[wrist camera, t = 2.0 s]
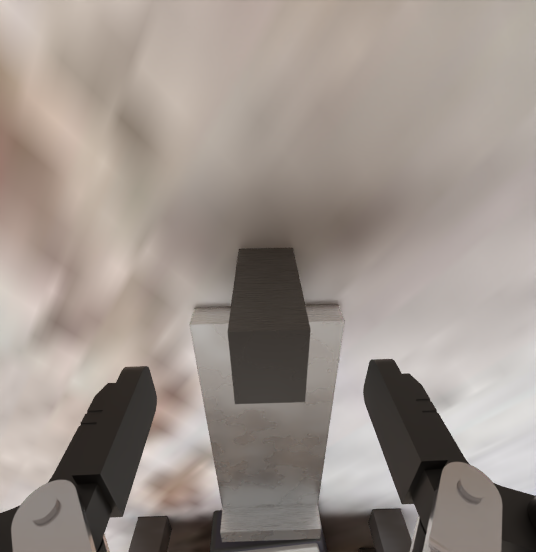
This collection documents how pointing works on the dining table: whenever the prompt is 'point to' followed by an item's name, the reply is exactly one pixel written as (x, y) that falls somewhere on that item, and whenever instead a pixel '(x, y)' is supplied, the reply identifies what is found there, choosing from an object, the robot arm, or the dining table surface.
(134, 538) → the wooden bench
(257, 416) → the scraper
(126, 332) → the dining table surface
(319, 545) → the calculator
